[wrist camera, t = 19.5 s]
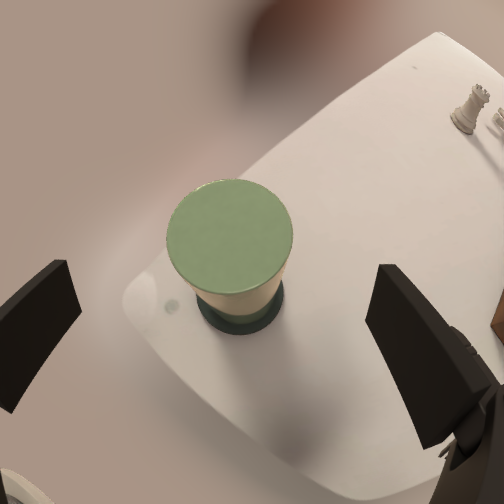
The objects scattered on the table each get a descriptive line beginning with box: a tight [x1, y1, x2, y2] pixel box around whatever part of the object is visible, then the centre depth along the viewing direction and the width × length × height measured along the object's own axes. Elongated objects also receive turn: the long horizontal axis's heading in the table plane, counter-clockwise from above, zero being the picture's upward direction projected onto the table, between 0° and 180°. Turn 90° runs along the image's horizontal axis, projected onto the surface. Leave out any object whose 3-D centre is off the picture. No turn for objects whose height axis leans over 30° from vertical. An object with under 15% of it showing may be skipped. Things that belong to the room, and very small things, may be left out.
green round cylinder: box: [166, 179, 293, 325], centre depth 15 cm, size 5×5×10 cm
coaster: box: [196, 280, 283, 335], centre depth 20 cm, size 6×6×1 cm
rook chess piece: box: [451, 84, 490, 134], centre depth 25 cm, size 4×4×8 cm
